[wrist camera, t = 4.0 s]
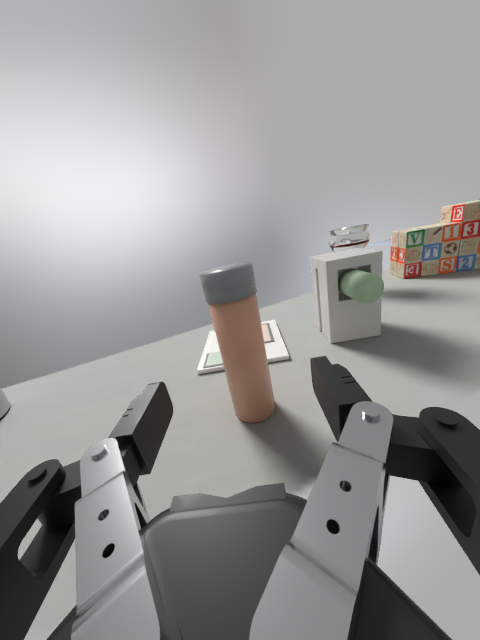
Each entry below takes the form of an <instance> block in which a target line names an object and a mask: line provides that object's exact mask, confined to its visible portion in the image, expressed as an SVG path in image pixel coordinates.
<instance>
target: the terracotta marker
mask: <svg viewBox="0 0 480 640" xmlns="http://www.w3.org/2000/svg"><path fill="white" fill-rule="evenodd" d="M199 275H200V278H201V283H202V287H203V291H204V295H205V298H206V302H207V303H208V305H209V309H210V313H211V317H212V321H213V325H214V329H215V333H216V337H217V341H218V345H219V349H220V353H221V357H222V361H223V365H224V369H225V373H226V377H227V381H228V385H229V389H230V393H231V397H232V401H233V405H234V409H235V413H236V416H237V417H238V418H239V419H240V420H242V421H244V422H247V423H257V422H261V421H264V420H266V419H267V418H269V417H270V416H271V415H272V414H273V412H274V410H275V402H274V396H273V390H272V384H271V379H270V373H269V367H268V361H267V355H266V350H265V344H264V338H263V332H262V326H261V321H260V315H259V309H258V304H257V297H256V292H257V290H256V284H255V278H254V272H253V266H252V263H249V262H247V263H237V264H231V265H226V266H222V267H217V268H213V269H209V270H206V271H203V272H201V273H200V274H199Z"/></svg>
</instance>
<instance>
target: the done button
mask: <svg viewBox="0 0 480 640" xmlns="http://www.w3.org/2000/svg"><path fill="white" fill-rule="evenodd" d="M338 289H339V290H340V291H341V292H342V293H343V294H345V295H347V296H349V297H351V298H352V299H354V300H356V301H358V302H360V303H363V304H369V303H372V302H374V301H376V300H377V299H378V298H379V297H380V296H381V294H382V293H383V289H384V283H383V280H382V279H381V278H380V277H379V276H377V275H375V274H371V273H368V272H364V271H361V270H357V269H348V270H346V271H344V272H343V273H342V274H341V275H340V276H339V278H338Z"/></svg>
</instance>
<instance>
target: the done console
mask: <svg viewBox="0 0 480 640" xmlns="http://www.w3.org/2000/svg"><path fill="white" fill-rule="evenodd" d="M310 262H311V274H312V286H313V298H314V310H315V322H316V326H317V328H318V329H319V330H320V331H322V332H323V335H324V336H325V337H326V338H327V340H328V341H329V342H330V343H337V342H343V341H349V340H355V339H361V338H367V337H373V336H379V335H381V297H382V294H381V296H380V297H379V298H378V299H377V300H376V301H374V302H372V303H369V304H363V303H360V302H358V301H356V300H354V299H352V298H351V297H349V296H347V295H345V294H343V293H342V292H341V291H340V290H339V289H338V278H339V276H340V275H341V274H342V273H343V272H344V271H346V270H348V269H357V270H361V271H364V272H368V273H371V274H375V275H377V276H379V277H380V278H381V279H382V251H380V250H370V249H361V248H353V249H348V250H343V251H338V252H333V253H329V254H323V255H318V256H312V257H310Z"/></svg>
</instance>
